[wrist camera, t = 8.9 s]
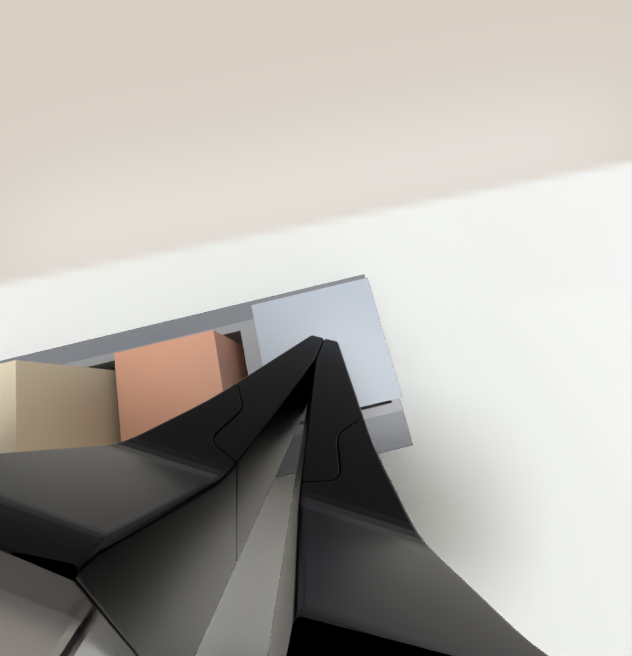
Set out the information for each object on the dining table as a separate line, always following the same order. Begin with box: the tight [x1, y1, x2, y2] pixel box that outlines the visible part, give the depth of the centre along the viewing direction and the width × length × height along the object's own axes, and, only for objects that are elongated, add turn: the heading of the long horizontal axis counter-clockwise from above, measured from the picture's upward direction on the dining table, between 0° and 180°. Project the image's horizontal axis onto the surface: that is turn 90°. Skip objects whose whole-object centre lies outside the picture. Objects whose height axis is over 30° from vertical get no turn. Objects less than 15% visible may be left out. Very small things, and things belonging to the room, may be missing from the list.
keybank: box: [0, 275, 413, 478], centre depth 16 cm, size 25×10×5 cm, turn 103°
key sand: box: [0, 360, 121, 453], centre depth 12 cm, size 4×4×6 cm
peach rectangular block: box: [114, 330, 248, 442], centre depth 14 cm, size 4×4×6 cm
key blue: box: [251, 278, 402, 421], centre depth 12 cm, size 4×4×6 cm
